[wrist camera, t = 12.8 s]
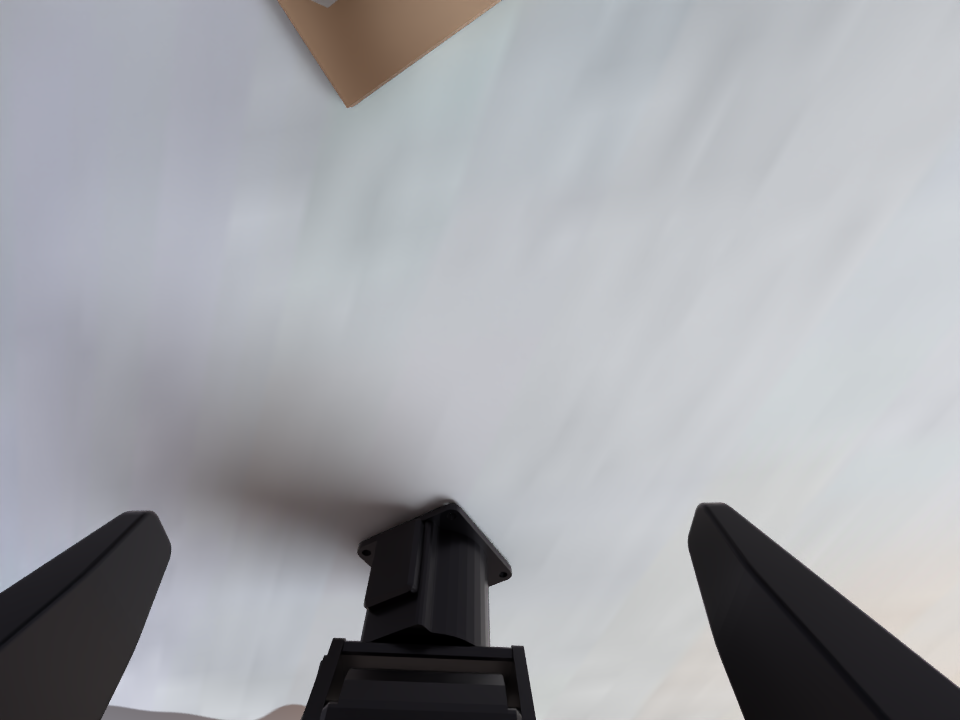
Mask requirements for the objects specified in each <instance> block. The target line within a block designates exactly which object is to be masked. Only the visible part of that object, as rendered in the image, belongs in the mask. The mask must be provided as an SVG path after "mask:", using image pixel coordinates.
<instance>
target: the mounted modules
mask: <svg viewBox="0 0 960 720" xmlns="http://www.w3.org/2000/svg"><path fill="white" fill-rule="evenodd" d="M311 1H314V2H316V3H318V4H320V5H322V6H325V7H327V8H328V7H330V6H331V5H332V4H333V3H335V2H336V1H337V0H311Z"/></svg>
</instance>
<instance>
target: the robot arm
mask: <svg viewBox="0 0 960 720" xmlns="http://www.w3.org/2000/svg"><path fill="white" fill-rule="evenodd" d="M450 513H453V514H450ZM688 548H689V553H690V556H691V560H692V563H693V567H694V571H695V574H696V578H697V581H698V585H699V589H700V592H701V596H702V599H703V603H704V606H705V610H706V614H707V617H708V621H709V624H710V628H711V631H712V634H713V638H714V641H715V644H716V647H717V649H718V652H719V655H720V658H721V660H722V663H723V665H724V668H725V671H726V673H727V676H728V678H729V681H730V683H731V686H732V688H733V691H734V693H735V696H736V699H737V701H738V704H739V706H740V709H741V711H742V714H743V716H744V719H745V720H960V688H959V687H958V686H957V685H956V684H954V683H953V682H952V681H951V680H949V679H948V678H947V677H945V676H944V675H943V674H942V673H940V672H939V671H938V670H937V669H935V668H934V667H933V666H932V665H930V664H929V663H928V662H926V661H925V660H924V659H923V658H921V657H920V656H919V655H918V654H916V653H915V652H914V651H913V650H911V649H910V648H909V647H907V646H906V645H905V644H904V643H902V642H901V641H900V640H899V639H897V638H896V637H895V636H894V635H892V634H891V633H890V632H888V631H887V630H886V629H885V628H883V627H882V626H881V625H880V624H878V623H877V622H876V621H875V620H873V619H872V618H871V617H869V616H868V615H867V614H866V613H864V612H863V611H862V610H861V609H859V608H858V607H857V606H856V605H854V604H853V603H852V602H850V601H849V600H848V599H847V598H845V597H844V596H843V595H842V594H840V593H839V592H838V591H837V590H835V589H834V588H833V587H831V586H830V585H829V584H828V583H826V582H825V581H824V580H823V579H821V578H820V577H819V576H818V575H816V574H815V573H814V572H812V571H811V570H810V569H809V568H807V567H806V566H805V565H804V564H802V563H801V562H800V561H799V560H797V559H796V558H795V557H793V556H792V555H791V554H790V553H788V552H787V551H786V550H785V549H783V548H782V547H781V546H780V545H778V544H777V543H776V542H774V541H773V540H772V539H771V538H769V537H768V536H767V535H766V534H764V533H763V532H762V531H761V530H759V529H758V528H757V527H755V526H754V525H753V524H752V523H750V522H749V521H748V520H747V519H745V518H744V517H743V516H742V515H740V514H739V513H738V512H736V511H735V510H734V509H733V508H731V507H730V506H729V505H727V504H725V503H700V504H699V505H698V506H697V508H696V511H695V514H694V518H693V521H692V525H691V528H690V531H689V535H688ZM357 553H358V555H359V556H360V557H361V558H362V559H363V560H364V561H365V562H366V563H367V564H368V565H369V566H371V572H370V576H369V581H368V586H367V591H366V595H365V600H364V607H365V608H366V609H367V611H366V616H365V621H364V626H363V631H362V636H361V641H346V638H333V640H332V643H331V646H330V649H329V652H328V654H327V655H324V658H323V660H322V661H321V662H320V666H319V670H318V674H317V677H316V680H315V683H314V686H313V689H312V691H311V694H310V697H309V700H308V703H307V705H306V708H305V711H304V714H303V716H302V718H301V720H536V717H535V711H534V705H533V699H532V693H531V687H530V681H529V675H528V669H527V664H526V658H525V652H524V646H513V645H512V646H511V648H508V647H490V623H489V586H492V585H495V584H497V583H500V582H502V581H505V580H508V579H509V578H510V577H511V576H512V569H511V566H510V565H509V564H508V562H507V561H506V560H505V559H504V558H503V557H502V555H501V554H500V553H499V552H498V551H497V550H496V548H495V547H494V546H493V545H492V544H491V543H490V541H489V540H488V539H487V538H486V537H485V536H484V534H483V533H482V532H481V531H480V530H479V529H478V527H477V526H476V525H475V524H474V523H473V522H472V520H471V519H470V518H469V517H468V516H467V515H466V513H465V512H464V511H463V510H462V509H461V508H460V507H459V506H458V505H456V504H447V505H444V506H442V507H440V508H438V509H435V510H433V511H431V512H428V513H426V514H424V515H422V516H419V517H417V518H415V519H413V520H410V521H408V522H406V523H403V524H401V525H399V526H397V527H394V528H392V529H390V530H387V531H385V532H383V533H381V534H378V535H376V536H374V537H372V538H369V539H367V540H365V541H362V542H361V543H360V544H359V547H358V551H357ZM170 555H171V543H170V541H169V539H168V536H167V534H166V532H165V530H164V528H163V526H162V524H161V522H160V520H159V518H158V516H157V514H156V513H154V512H153V511H127V512H124V513H122V514H121V515H119V516H117V517H116V518H114V519H113V520H111V521H110V522H108V523H107V524H105V525H104V526H102V527H101V528H99V529H98V530H96V531H94V532H93V533H91V534H90V535H88V536H87V537H85V538H84V539H82V540H81V541H79V542H78V543H76V544H75V545H73V546H72V547H70V548H68V549H67V550H65V551H64V552H62V553H61V554H59V555H58V556H56V557H55V558H53V559H52V560H50V561H49V562H47V563H46V564H44V565H43V566H41V567H39V568H38V569H36V570H35V571H33V572H32V573H30V574H29V575H27V576H26V577H24V578H23V579H21V580H20V581H18V582H17V583H15V584H14V585H12V586H10V587H9V588H7V589H6V590H4V591H3V592H1V593H0V720H101V718H102V716H103V714H104V712H105V710H106V708H107V706H108V704H109V702H110V700H111V698H112V696H113V694H114V692H115V690H116V688H117V686H118V684H119V682H120V680H121V678H122V675H123V673H124V671H125V669H126V667H127V665H128V663H129V661H130V659H131V657H132V654H133V652H134V650H135V647H136V645H137V643H138V640H139V638H140V635H141V633H142V630H143V628H144V625H145V622H146V620H147V617H148V614H149V612H150V609H151V607H152V604H153V601H154V599H155V596H156V593H157V591H158V588H159V586H160V583H161V580H162V578H163V575H164V572H165V570H166V567H167V565H168V562H169V559H170Z"/></svg>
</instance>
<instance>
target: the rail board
mask: <svg viewBox="0 0 960 720" xmlns="http://www.w3.org/2000/svg"><path fill="white" fill-rule="evenodd" d="M277 1H278V2H279V4H280V5H281V7H282V8H283V10H284V11H285V13H286V15H287V16H288V18H289V19H290V21H291V22H292V24H293V25H294V27H295V28H296V30H297V32H298V33H299V35H300V36H301V38H302V39H303V41H304V42H305V44H306V45H307V47H308V48H309V50H310V52H311V53H312V55H313V56H314V58H315V59H316V61H317V62H318V64H319V65H320V67H321V69H322V70H323V72H324V73H325V75H326V76H327V78H328V79H329V81H330V82H331V84H332V86H333V87H334V89H335V90H336V92H337V93H338V95H339V96H340V98H341V99H342V101H343V102H344V104H345V106H346V107H347V108H349V107H353V106H355V105H356V104H358V103H359V102H360V101H362V100H363V99H365V98H366V97H367V96H369V95H370V94H372V93H373V92H374V91H376V90H377V89H379V88H380V87H381V86H383V85H384V84H386V83H387V82H388V81H390V80H391V79H393V78H394V77H395V76H397V75H398V74H400V73H401V72H402V71H404V70H405V69H407V68H408V67H409V66H411V65H412V64H414V63H415V62H416V61H418V60H419V59H421V58H422V57H423V56H425V55H426V54H428V53H429V52H430V51H432V50H433V49H434V48H436V47H437V46H439V45H440V44H441V43H443V42H444V41H446V40H447V39H448V38H450V37H451V36H453V35H454V34H455V33H457V32H458V31H460V30H461V29H462V28H464V27H465V26H467V25H468V24H469V23H471V22H472V21H474V20H475V19H476V18H478V17H479V16H481V15H482V14H483V13H485V12H486V11H488V10H489V9H490V8H492V7H493V6H495V5H496V4H497V3H499V2H500V1H502V0H337V1H336V2H335V3H333V4H332V5H331V6H330V7H328V8H327V7H325V6H322V5H320V4H318V3H316V2H314V1H311V0H277Z"/></svg>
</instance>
